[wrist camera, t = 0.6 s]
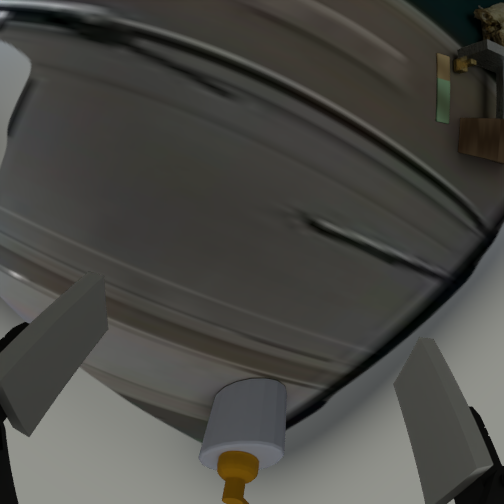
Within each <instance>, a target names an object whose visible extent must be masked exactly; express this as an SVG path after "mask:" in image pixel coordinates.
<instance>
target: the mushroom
mask: <svg viewBox="0 0 504 504" xmlns="http://www.w3.org/2000/svg"><path fill="white" fill-rule="evenodd" d="M478 7H479V8H480V9H476V10H475V11H474V14H475V17H476V18H477V19H480V20H481V27H482V35H483V40H486V39H488V40H490V41H492V42H495V43H497V44H499V45H501V46H503V47H504V3H499V4H496V5H493V6H491V7H490V8H485V9H483V8H482V7H480V6H478ZM475 17H474V18H475Z"/></svg>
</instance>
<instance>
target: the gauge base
mask: <svg viewBox="0 0 504 504" xmlns="http://www.w3.org/2000/svg"><path fill="white" fill-rule="evenodd" d="M436 55H437V105H436V121H438V122H442V123H446V124H449V111H450V57H448V56H445V55H442V54H439V53H436ZM458 152H459V153H463V154H467V155H471V156H476V157H480V158H484V159H489V160H492V161H494V162H497V163H501V164H504V119H493V118H460V132H459V145H458Z"/></svg>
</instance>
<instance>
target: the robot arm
mask: <svg viewBox="0 0 504 504" xmlns="http://www.w3.org/2000/svg"><path fill="white" fill-rule="evenodd" d="M107 330H108V322H107V311H106V298H105V282H104V275H100V274H97V273H93V272H88V273H87V274H85V275H84V276H83V277H82V278H81V279H79V280H78V281H77V282H76V283H75V284H74V285H72V286H71V287H70V288H69V289H68V290H67V291H66V292H64V293H63V294H62V295H61V296H60V297H59V298H58V299H57V300H55V301H54V302H53V303H52V304H51V305H50V306H49V307H48V308H47V309H45V310H44V311H43V312H42V313H41V314H40V315H39V316H38V317H37V318H36V319H35V320H34V321H33V322H31V323H30V324H29V323H27V322H24V323H22V324H20V325H18V326H16V327H14V328H12V329H11V330H10V331H9V332H8V333H7V334H6V335H5V337H3V338H2V339H1V340H0V504H18V500H17V496H16V492H15V487H14V482H13V477H12V472H11V466H10V461H9V454H8V447H7V440H6V430H5V426H4V423H3V422H4V420H5V419H6V418H8V420H9V421H10V423H11V425H12V426H13V428H15V429H17V430H18V431H20V432H21V433H23V434H25V435H26V436H28V437H30V435H31V434H32V432H33V431H34V429H35V428H36V426H37V425H38V424H39V422H40V421H41V419H42V418H43V416H44V415H45V413H46V412H47V411H48V409H49V408H50V406H51V405H52V403H53V402H54V401H55V399H56V397H57V396H58V395H59V394H60V392H61V391H62V389H63V388H64V387H65V385H66V384H67V383H68V381H69V380H70V379H71V377H72V376H73V374H74V373H75V372H76V370H77V369H78V368H79V366H80V365H81V364H82V362H83V361H84V360H85V358H86V357H87V356H88V355H89V353H90V352H91V351H92V349H93V348H94V347H95V345H96V344H97V343H98V342H99V340H100V339H101V338H102V336H103V335H104V334H105V333H106V331H107ZM394 388H395V391H396V394H397V397H398V400H399V404H400V407H401V410H402V414H403V417H404V421H405V424H406V427H407V431H408V435H409V438H410V442H411V446H412V449H413V453H414V457H415V461H416V465H417V469H418V473H419V477H420V482H421V486H422V490H423V494H424V499H425V504H447V503H448V502H450V501H451V500H452V499H454V500H455V504H504V466H502V464H501V462H500V460H499V458H498V455H497V453H496V450H495V448H494V445H493V443H492V441H491V439H490V436H488V432H487V430H486V428H484V427H485V425H484V423H483V421H482V419H481V417H480V415H479V414H478V413H477V412H476V410H475V409H474V408H473V407H469V406H468V404H467V402H466V400H465V398H464V396H463V394H462V392H461V390H460V389H459V386H458V384H457V382H456V380H455V378H454V376H453V374H452V372H451V370H450V369H449V367H448V365H447V363H446V361H445V359H444V357H443V355H442V353H441V352H440V350H439V348H438V346H437V345H436V343H435V341H434V339H430V338H420V337H419V339H418V341H417V343H416V345H415V347H414V348H413V350H412V352H411V354H410V356H409V358H408V360H407V361H406V363H405V365H404V367H403V369H402V370H401V372H400V374H399V376H398V377H397V379H396V381H395V382H394Z"/></svg>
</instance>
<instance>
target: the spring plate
mask: <svg viewBox="0 0 504 504" xmlns="http://www.w3.org/2000/svg"><path fill="white" fill-rule="evenodd" d="M457 51H458V58H463V59H466V60H468V59H474V60H476V64H477V66H480V67H482V68H485V69H487V70H490V71H492V72H495V73H496V87H497V105H496V119H504V47H503V46H501V45H499V44H497V43H495V42H492V41H490V40H488V39H486V40H483V41H480V42H477V43H475V44H472V45H469V46H466V47H464V48H461V49H459V50H457Z"/></svg>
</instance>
